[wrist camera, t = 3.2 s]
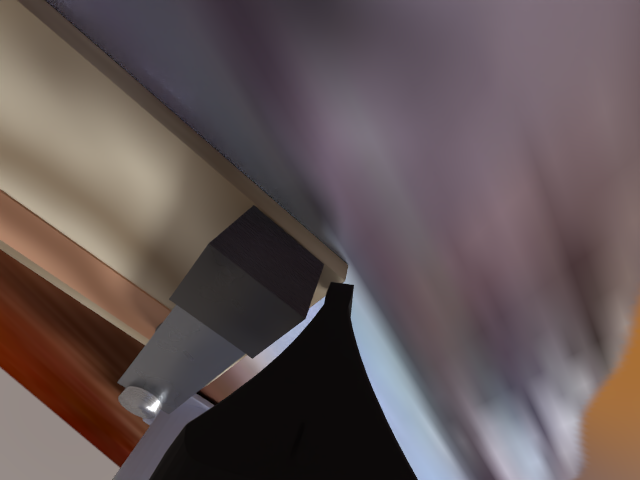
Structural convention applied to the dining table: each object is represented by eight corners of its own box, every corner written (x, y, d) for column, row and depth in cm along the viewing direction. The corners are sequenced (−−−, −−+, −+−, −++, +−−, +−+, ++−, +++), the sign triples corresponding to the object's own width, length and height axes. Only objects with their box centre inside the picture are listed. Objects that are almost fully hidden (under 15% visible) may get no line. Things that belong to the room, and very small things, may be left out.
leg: (200, 371, 16) (161, 430, 14) (151, 338, 16) (99, 393, 13) (324, 264, 11) (301, 328, 8) (253, 204, 10) (199, 250, 7)
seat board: (215, 370, 19) (204, 388, 18) (5, 226, 16) (-25, 237, 15) (348, 265, 12) (344, 283, 11) (26, -16, 9) (-26, -33, 8)
